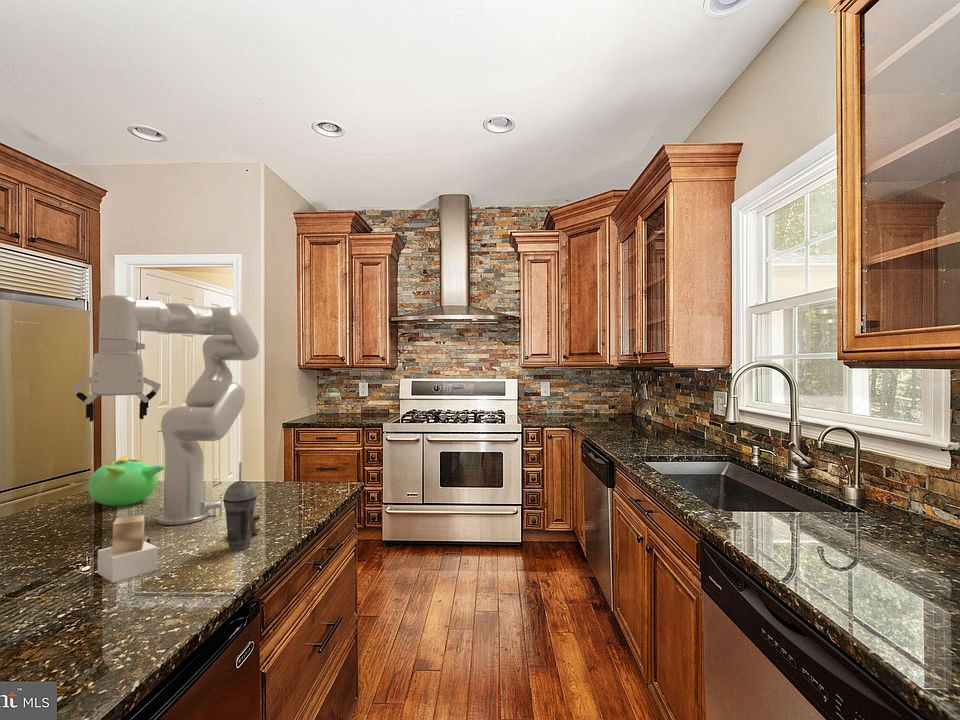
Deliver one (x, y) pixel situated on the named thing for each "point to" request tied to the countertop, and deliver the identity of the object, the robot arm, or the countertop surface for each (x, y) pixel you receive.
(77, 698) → the countertop surface
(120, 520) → the oak block
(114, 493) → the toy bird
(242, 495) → the beverage cup
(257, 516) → the mushroom
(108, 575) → the white block
